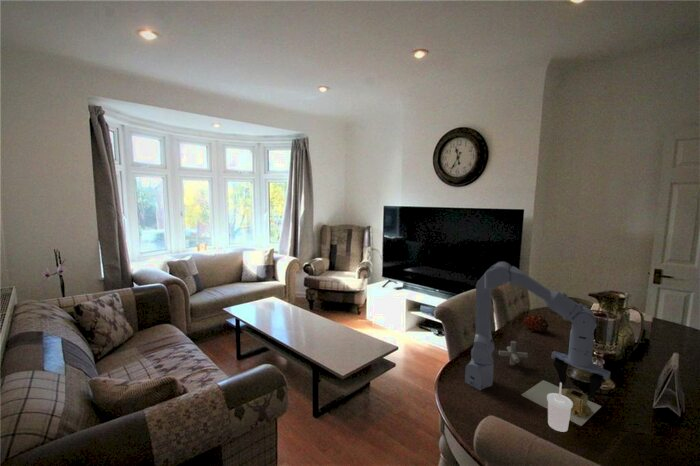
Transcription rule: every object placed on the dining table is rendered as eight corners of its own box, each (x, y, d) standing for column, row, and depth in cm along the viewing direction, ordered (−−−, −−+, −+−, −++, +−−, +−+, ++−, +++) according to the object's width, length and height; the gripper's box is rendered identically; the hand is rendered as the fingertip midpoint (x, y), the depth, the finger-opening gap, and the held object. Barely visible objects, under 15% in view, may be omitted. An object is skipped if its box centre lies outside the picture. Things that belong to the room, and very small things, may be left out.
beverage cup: (546, 418, 93) (550, 374, 92) (571, 428, 89) (575, 382, 88) (542, 429, 89) (546, 383, 87) (569, 440, 85) (572, 392, 83)
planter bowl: (599, 328, 156) (601, 307, 155) (563, 325, 160) (564, 305, 159) (583, 316, 172) (585, 297, 170) (550, 314, 175) (552, 295, 174)
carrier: (580, 429, 89) (582, 416, 88) (520, 397, 103) (521, 386, 102) (601, 409, 97) (602, 397, 96) (543, 382, 111) (543, 372, 110)
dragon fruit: (549, 338, 149) (522, 333, 158) (553, 324, 153) (527, 320, 162) (543, 327, 146) (517, 322, 155) (548, 312, 150) (522, 309, 159)
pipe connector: (530, 374, 116) (532, 349, 115) (501, 372, 118) (503, 346, 117) (521, 361, 126) (523, 337, 124) (495, 358, 128) (496, 335, 126)
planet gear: (584, 420, 91) (585, 404, 90) (557, 406, 97) (558, 391, 96) (594, 411, 95) (595, 395, 94) (567, 398, 101) (568, 383, 100)
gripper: (615, 354, 90) (611, 398, 91) (559, 335, 102) (556, 374, 103) (606, 361, 86) (602, 407, 87) (549, 341, 98) (546, 381, 99)
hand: (576, 390), depth 95 cm, fingers open, 7 cm apart
